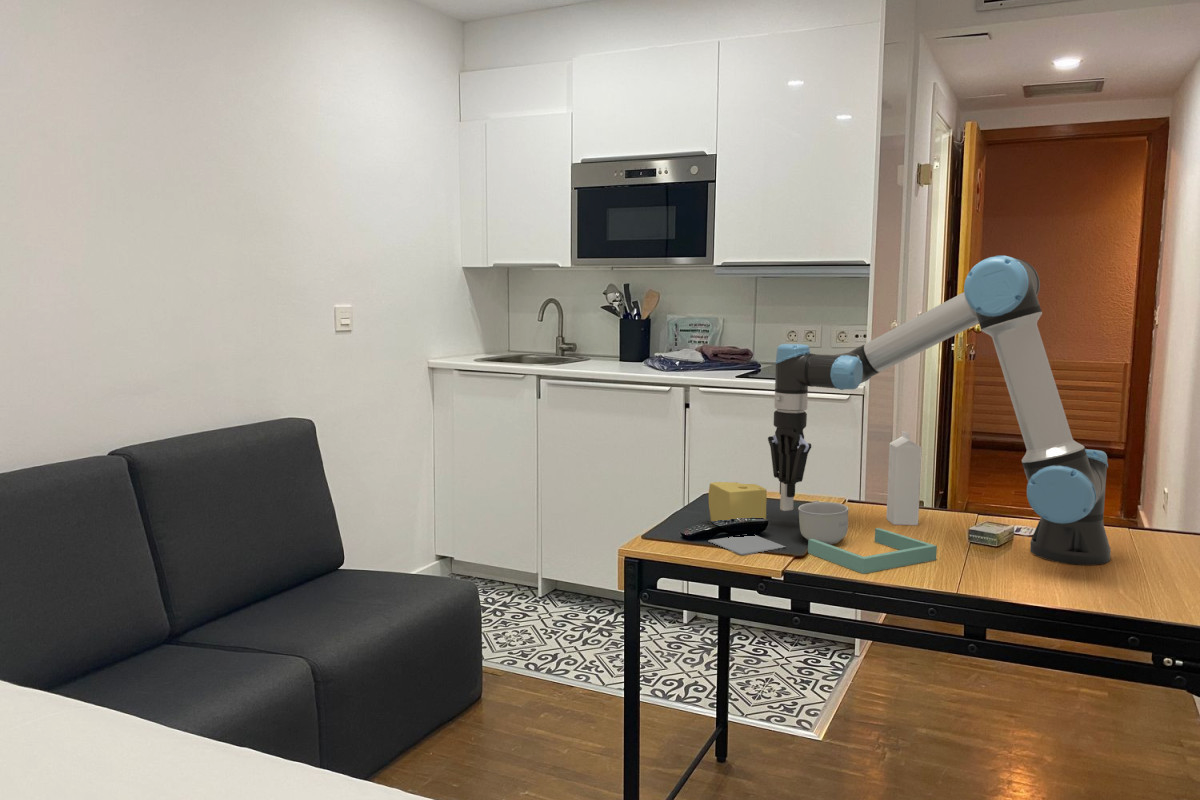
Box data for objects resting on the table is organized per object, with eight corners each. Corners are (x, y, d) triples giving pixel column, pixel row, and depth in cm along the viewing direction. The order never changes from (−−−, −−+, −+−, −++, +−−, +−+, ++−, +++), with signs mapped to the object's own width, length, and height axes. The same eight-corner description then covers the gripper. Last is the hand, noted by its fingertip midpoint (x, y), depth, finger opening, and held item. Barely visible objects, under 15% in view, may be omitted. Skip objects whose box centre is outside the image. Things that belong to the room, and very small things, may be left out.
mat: (785, 548, 199) (786, 546, 199) (741, 555, 193) (741, 553, 193) (751, 535, 209) (751, 533, 209) (708, 542, 204) (708, 540, 204)
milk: (910, 519, 225) (915, 430, 223) (918, 525, 219) (923, 434, 217) (885, 518, 225) (889, 429, 223) (892, 525, 219) (897, 433, 217)
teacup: (848, 549, 199) (850, 513, 198) (797, 546, 201) (798, 510, 200) (845, 533, 212) (846, 499, 211) (797, 530, 214) (798, 496, 213)
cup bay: (936, 559, 191) (936, 545, 191) (863, 573, 181) (863, 559, 181) (878, 541, 205) (879, 528, 205) (807, 553, 195) (808, 539, 195)
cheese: (746, 519, 224) (747, 479, 223) (768, 530, 214) (769, 488, 213) (707, 523, 221) (708, 482, 220) (727, 534, 211) (728, 491, 210)
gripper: (759, 407, 218) (756, 505, 220) (796, 415, 206) (792, 517, 209) (784, 406, 221) (781, 502, 224) (822, 413, 210) (817, 514, 213)
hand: (786, 509), depth 217 cm, fingers closed
